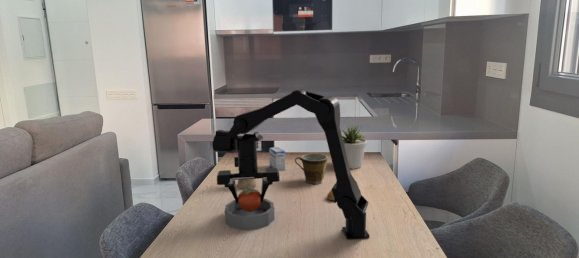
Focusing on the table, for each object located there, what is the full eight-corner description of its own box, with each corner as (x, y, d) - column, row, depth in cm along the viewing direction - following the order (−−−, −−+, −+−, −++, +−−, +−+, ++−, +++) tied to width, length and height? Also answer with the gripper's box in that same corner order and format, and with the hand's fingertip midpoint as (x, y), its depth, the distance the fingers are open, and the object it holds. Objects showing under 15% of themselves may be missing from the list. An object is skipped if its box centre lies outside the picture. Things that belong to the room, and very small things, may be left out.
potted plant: (329, 165, 175) (329, 121, 171) (354, 160, 182) (355, 117, 177) (346, 172, 165) (346, 126, 160) (372, 167, 171) (373, 122, 167)
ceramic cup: (329, 178, 158) (330, 154, 156) (323, 187, 149) (323, 161, 147) (299, 175, 163) (299, 152, 160) (291, 183, 153) (290, 158, 151)
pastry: (337, 204, 134) (337, 193, 133) (322, 199, 138) (322, 188, 138) (353, 196, 140) (353, 186, 140) (338, 191, 145) (338, 181, 144)
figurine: (246, 181, 156) (245, 152, 154) (260, 184, 152) (259, 155, 150) (234, 187, 151) (232, 157, 148) (248, 190, 147) (247, 159, 144)
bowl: (275, 228, 117) (275, 215, 116) (224, 231, 115) (223, 218, 115) (272, 207, 131) (272, 196, 131) (227, 209, 130) (226, 198, 129)
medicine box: (269, 166, 175) (268, 147, 173) (278, 165, 177) (278, 146, 175) (276, 171, 168) (275, 152, 166) (285, 170, 170) (285, 150, 168)
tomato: (264, 203, 126) (261, 180, 124) (260, 214, 119) (257, 189, 117) (242, 205, 127) (239, 181, 125) (236, 215, 120) (233, 190, 118)
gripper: (276, 145, 128) (277, 191, 131) (218, 148, 126) (221, 194, 129) (278, 155, 117) (280, 204, 120) (215, 158, 115) (218, 208, 118)
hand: (249, 202), depth 122 cm, fingers closed on tomato, 7 cm apart
